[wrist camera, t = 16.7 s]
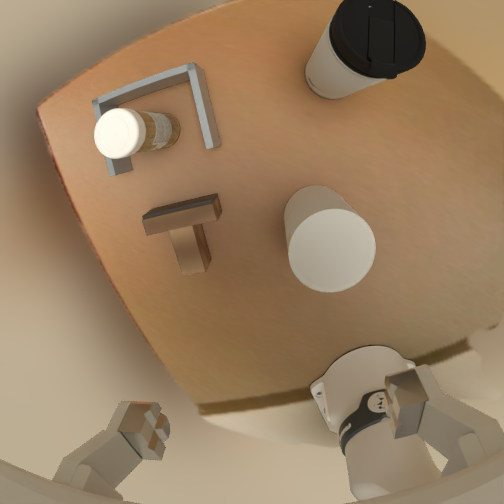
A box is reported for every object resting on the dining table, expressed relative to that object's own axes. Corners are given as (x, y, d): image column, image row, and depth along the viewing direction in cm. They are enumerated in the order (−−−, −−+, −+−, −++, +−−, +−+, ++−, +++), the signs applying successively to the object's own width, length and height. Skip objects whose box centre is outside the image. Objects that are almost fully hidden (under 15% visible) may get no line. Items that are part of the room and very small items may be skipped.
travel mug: (301, 98, 34) (333, 64, 15) (306, 47, 31) (338, -25, 13) (352, 106, 34) (429, 89, 15) (357, 57, 31) (430, 2, 13)
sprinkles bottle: (144, 146, 37) (89, 157, 25) (150, 111, 35) (95, 106, 23) (178, 150, 37) (134, 162, 25) (184, 114, 35) (141, 109, 23)
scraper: (233, 255, 42) (229, 267, 38) (170, 266, 43) (161, 279, 39) (217, 193, 39) (211, 200, 35) (152, 208, 40) (140, 217, 36)
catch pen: (220, 145, 37) (213, 147, 32) (127, 171, 38) (110, 177, 34) (203, 70, 33) (193, 62, 29) (111, 102, 35) (91, 100, 30)
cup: (271, 206, 39) (271, 239, 28) (327, 172, 37) (350, 191, 26) (304, 258, 41) (315, 306, 30) (358, 227, 39) (388, 265, 28)
